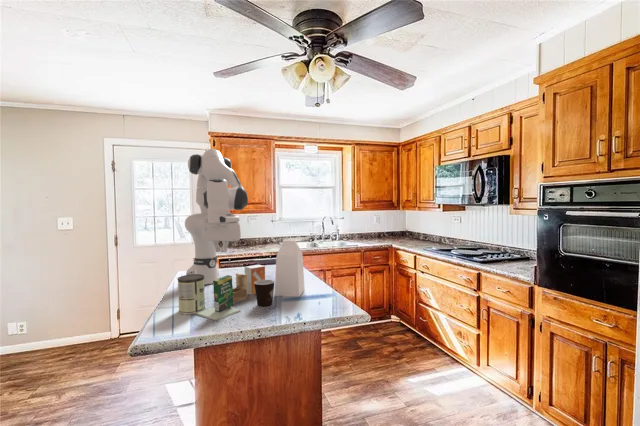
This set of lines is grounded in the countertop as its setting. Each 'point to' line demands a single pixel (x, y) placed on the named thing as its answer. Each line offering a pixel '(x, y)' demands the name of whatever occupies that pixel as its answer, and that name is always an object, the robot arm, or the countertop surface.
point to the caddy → (240, 288)
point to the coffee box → (223, 293)
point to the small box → (254, 276)
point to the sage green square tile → (217, 313)
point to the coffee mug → (264, 292)
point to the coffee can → (191, 294)
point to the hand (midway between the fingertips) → (221, 251)
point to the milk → (289, 270)
